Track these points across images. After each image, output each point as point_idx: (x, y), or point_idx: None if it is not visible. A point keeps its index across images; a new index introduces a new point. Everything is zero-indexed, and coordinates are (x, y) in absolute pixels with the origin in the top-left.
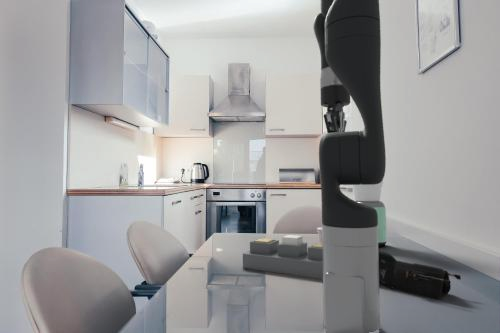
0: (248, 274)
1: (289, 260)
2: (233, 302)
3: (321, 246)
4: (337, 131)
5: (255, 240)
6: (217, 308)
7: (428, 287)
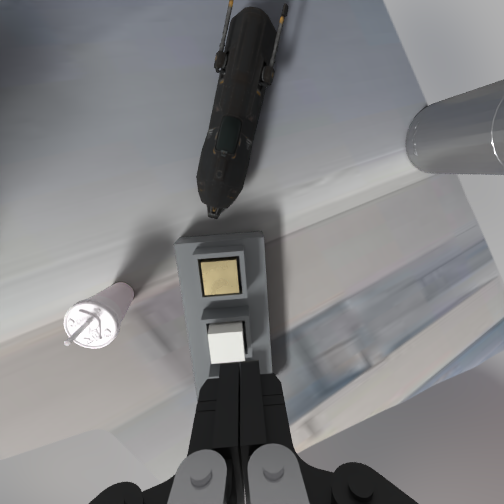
0: (300, 351)
1: (268, 312)
2: (420, 298)
3: (234, 275)
4: (374, 496)
5: None
6: (446, 301)
7: (271, 55)
